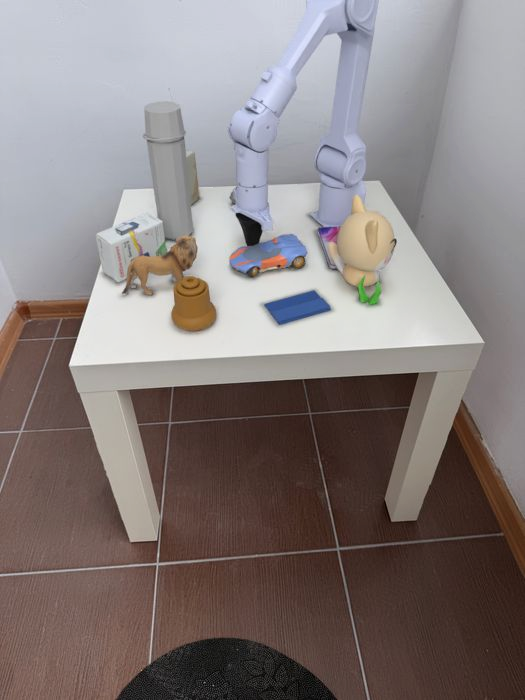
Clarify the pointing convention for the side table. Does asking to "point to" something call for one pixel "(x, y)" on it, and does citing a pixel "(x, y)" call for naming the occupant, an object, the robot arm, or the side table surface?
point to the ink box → (130, 244)
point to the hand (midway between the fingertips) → (252, 247)
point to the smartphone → (329, 236)
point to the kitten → (363, 248)
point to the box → (192, 176)
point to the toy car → (269, 255)
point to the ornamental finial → (192, 304)
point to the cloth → (297, 307)
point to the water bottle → (169, 167)
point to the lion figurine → (163, 263)
